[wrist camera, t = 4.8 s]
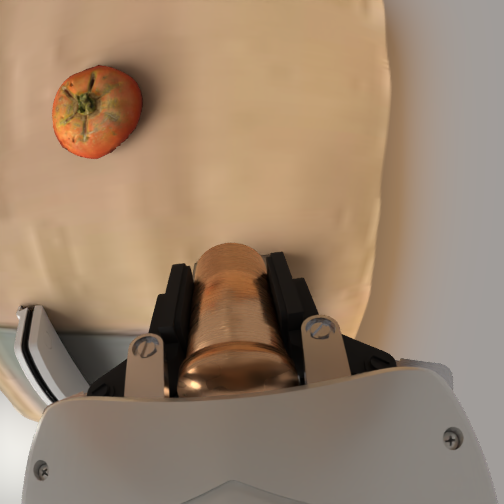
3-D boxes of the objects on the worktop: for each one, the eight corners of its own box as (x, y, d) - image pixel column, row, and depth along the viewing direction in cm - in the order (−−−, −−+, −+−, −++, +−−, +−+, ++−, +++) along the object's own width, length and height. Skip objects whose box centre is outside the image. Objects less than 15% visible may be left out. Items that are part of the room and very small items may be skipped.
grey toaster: (17, 303, 27) (-1, 354, 19) (44, 296, 28) (29, 349, 20) (66, 383, 35) (67, 433, 26) (90, 379, 36) (93, 429, 28)
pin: (184, 244, 13) (160, 362, 7) (267, 234, 13) (302, 348, 7) (199, 307, 14) (193, 421, 9) (271, 299, 15) (296, 411, 9)
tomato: (159, 140, 19) (69, 159, 14) (122, 157, 24) (52, 175, 19) (146, 51, 17) (61, 53, 12) (111, 83, 21) (43, 92, 16)
